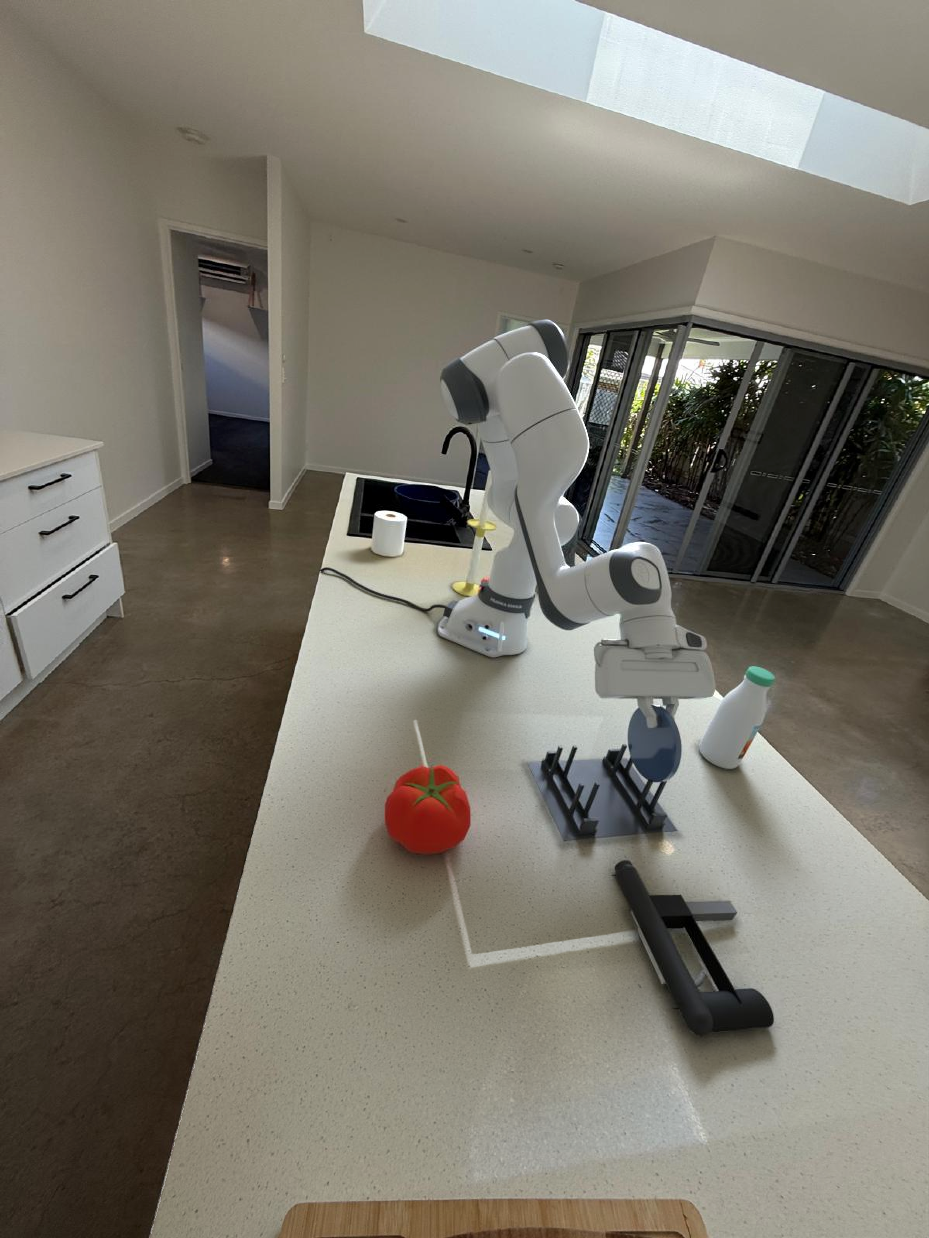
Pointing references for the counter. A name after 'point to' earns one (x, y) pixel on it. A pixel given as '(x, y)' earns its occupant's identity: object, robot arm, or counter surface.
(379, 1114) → the counter surface
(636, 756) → the plate
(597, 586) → the robot arm
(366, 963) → the counter surface
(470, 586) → the candle
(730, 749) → the milk bottle
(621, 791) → the rack
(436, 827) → the tomato
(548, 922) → the counter surface
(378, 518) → the toilet paper
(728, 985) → the door handle
